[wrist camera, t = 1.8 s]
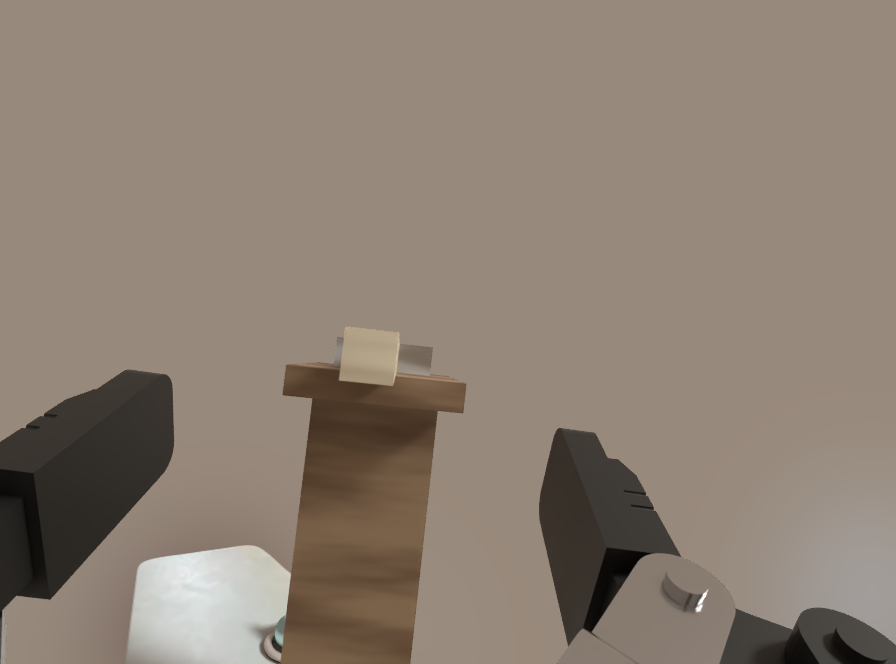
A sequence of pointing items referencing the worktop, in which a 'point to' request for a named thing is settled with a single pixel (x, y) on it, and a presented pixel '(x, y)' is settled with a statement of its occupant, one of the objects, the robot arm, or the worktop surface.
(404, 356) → the beige block
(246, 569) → the worktop surface
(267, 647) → the pacifier
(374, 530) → the stand
